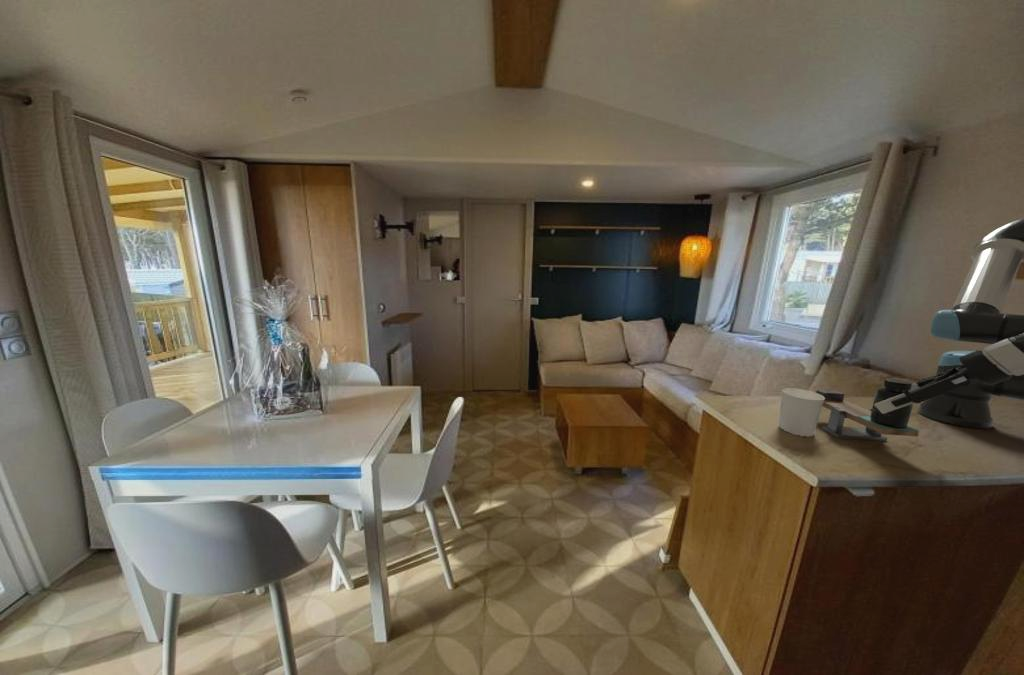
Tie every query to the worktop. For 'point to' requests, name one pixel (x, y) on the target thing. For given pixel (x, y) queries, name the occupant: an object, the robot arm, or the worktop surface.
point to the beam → (861, 414)
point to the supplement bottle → (895, 417)
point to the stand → (849, 428)
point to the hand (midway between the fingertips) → (884, 403)
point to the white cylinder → (800, 411)
